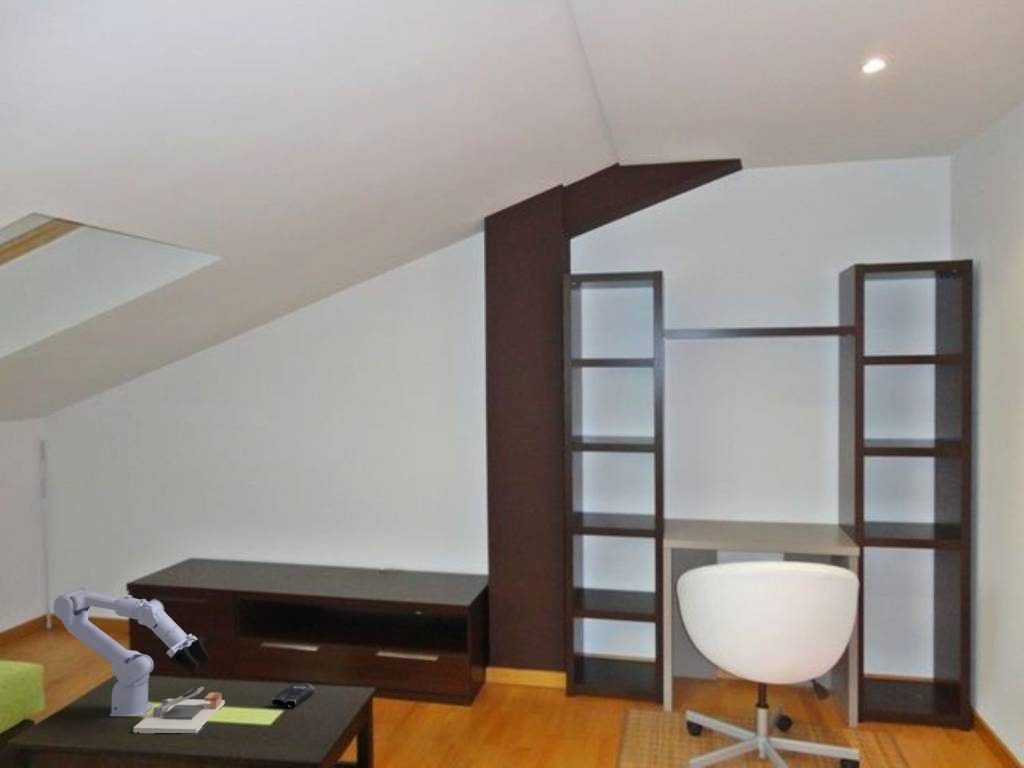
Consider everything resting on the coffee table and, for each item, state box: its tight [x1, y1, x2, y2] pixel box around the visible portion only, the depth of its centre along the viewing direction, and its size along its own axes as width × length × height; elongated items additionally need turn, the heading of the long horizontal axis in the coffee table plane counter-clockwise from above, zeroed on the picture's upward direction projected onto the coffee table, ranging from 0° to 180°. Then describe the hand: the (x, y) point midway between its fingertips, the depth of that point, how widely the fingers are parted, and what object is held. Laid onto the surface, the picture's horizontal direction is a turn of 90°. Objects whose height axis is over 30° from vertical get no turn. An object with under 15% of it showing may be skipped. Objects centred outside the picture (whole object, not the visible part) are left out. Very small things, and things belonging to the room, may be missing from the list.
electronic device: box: [269, 682, 315, 709], centre depth 239 cm, size 9×6×15 cm
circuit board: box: [132, 698, 226, 734], centre depth 224 cm, size 18×20×4 cm
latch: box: [204, 692, 223, 708], centre depth 229 cm, size 4×4×3 cm
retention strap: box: [158, 686, 205, 711], centre depth 224 cm, size 14×4×2 cm, turn 90°
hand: (201, 665), depth 226 cm, fingers open, 7 cm apart
